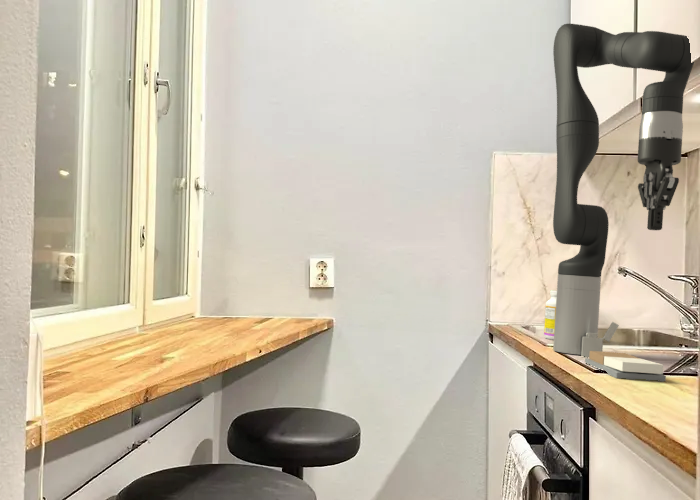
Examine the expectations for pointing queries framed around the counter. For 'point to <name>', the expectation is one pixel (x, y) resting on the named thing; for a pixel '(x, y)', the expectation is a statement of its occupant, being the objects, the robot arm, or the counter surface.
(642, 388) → the counter surface
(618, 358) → the board
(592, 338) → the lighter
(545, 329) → the supplement bottle
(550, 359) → the counter surface
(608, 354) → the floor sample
